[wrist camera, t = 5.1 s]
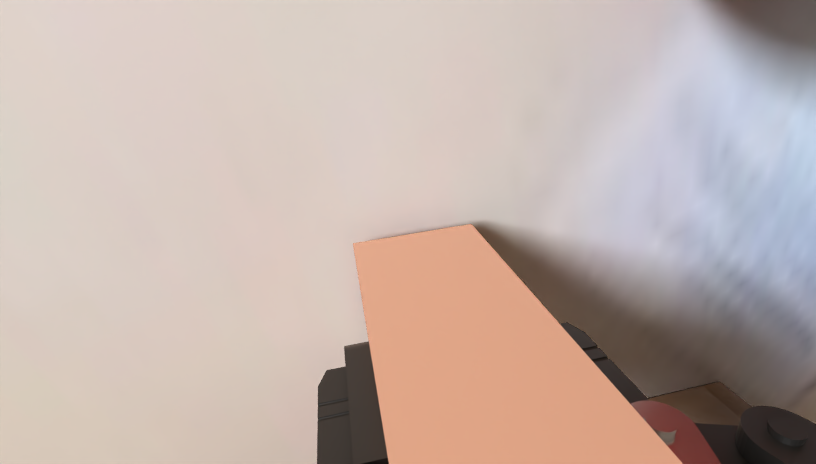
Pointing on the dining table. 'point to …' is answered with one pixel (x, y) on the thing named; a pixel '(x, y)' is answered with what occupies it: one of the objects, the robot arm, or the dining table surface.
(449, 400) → the peg
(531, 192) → the dining table surface
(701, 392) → the bore box
